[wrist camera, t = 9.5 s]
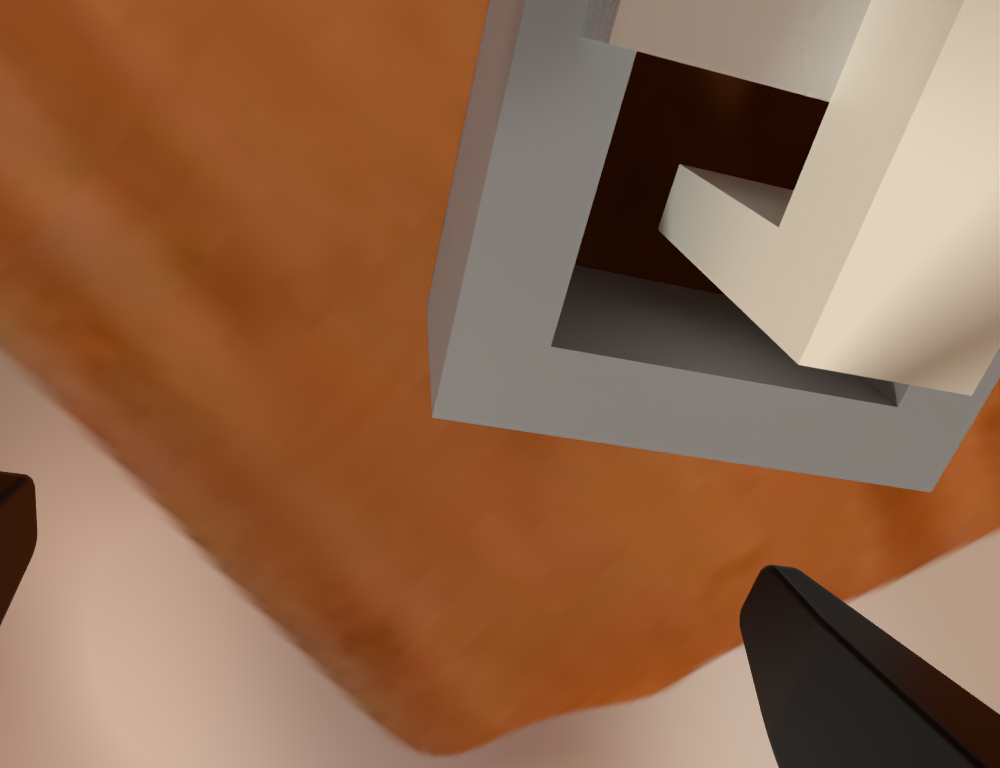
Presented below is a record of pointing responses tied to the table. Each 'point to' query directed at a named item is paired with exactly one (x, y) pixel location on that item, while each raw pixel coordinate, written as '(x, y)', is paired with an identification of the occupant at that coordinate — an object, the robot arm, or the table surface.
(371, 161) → the table surface
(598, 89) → the frame
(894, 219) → the cream block
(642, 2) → the cross bar
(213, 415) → the table surface
